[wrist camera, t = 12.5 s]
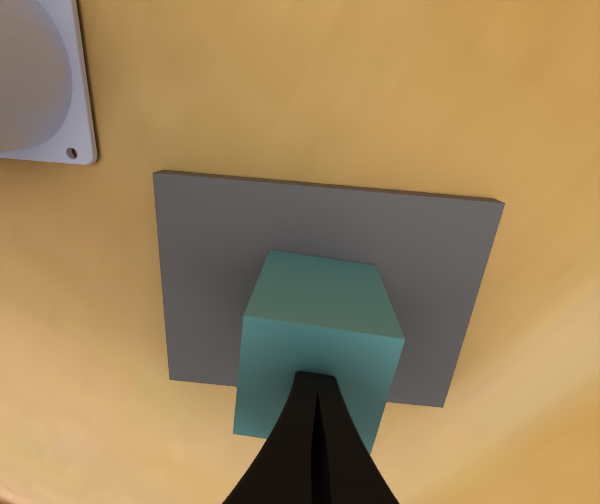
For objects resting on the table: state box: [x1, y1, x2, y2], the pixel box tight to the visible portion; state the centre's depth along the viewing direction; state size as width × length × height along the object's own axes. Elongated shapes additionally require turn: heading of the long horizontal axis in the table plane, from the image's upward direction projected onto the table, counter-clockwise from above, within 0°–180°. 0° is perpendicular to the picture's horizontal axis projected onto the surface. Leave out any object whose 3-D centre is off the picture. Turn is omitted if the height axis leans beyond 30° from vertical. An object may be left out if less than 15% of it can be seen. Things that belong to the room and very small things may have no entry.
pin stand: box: [153, 170, 505, 408], centre depth 15 cm, size 16×12×6 cm
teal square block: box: [233, 250, 405, 454], centre depth 14 cm, size 5×5×6 cm
